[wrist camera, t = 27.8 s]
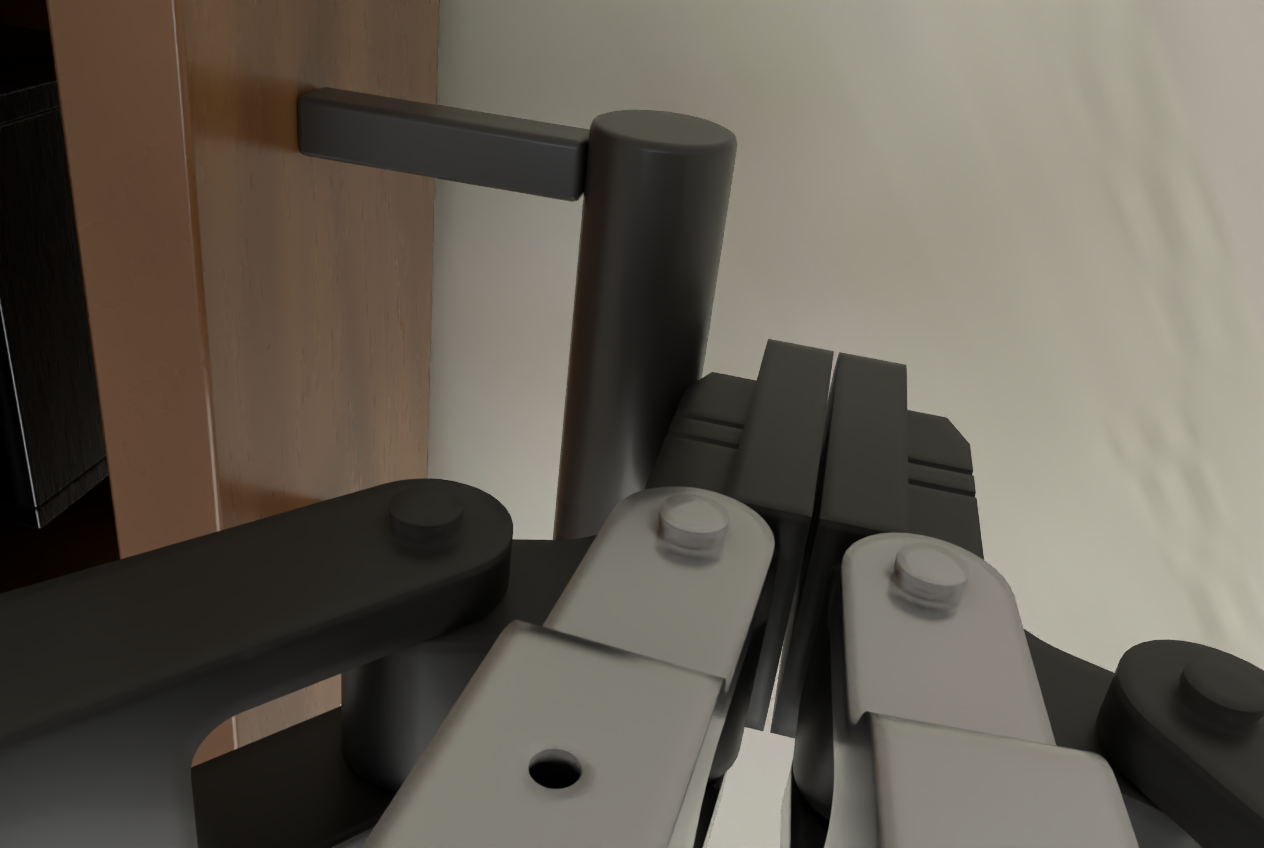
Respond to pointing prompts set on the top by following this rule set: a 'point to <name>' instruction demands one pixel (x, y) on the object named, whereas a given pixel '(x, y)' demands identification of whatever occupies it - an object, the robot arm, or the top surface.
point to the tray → (41, 300)
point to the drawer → (333, 271)
